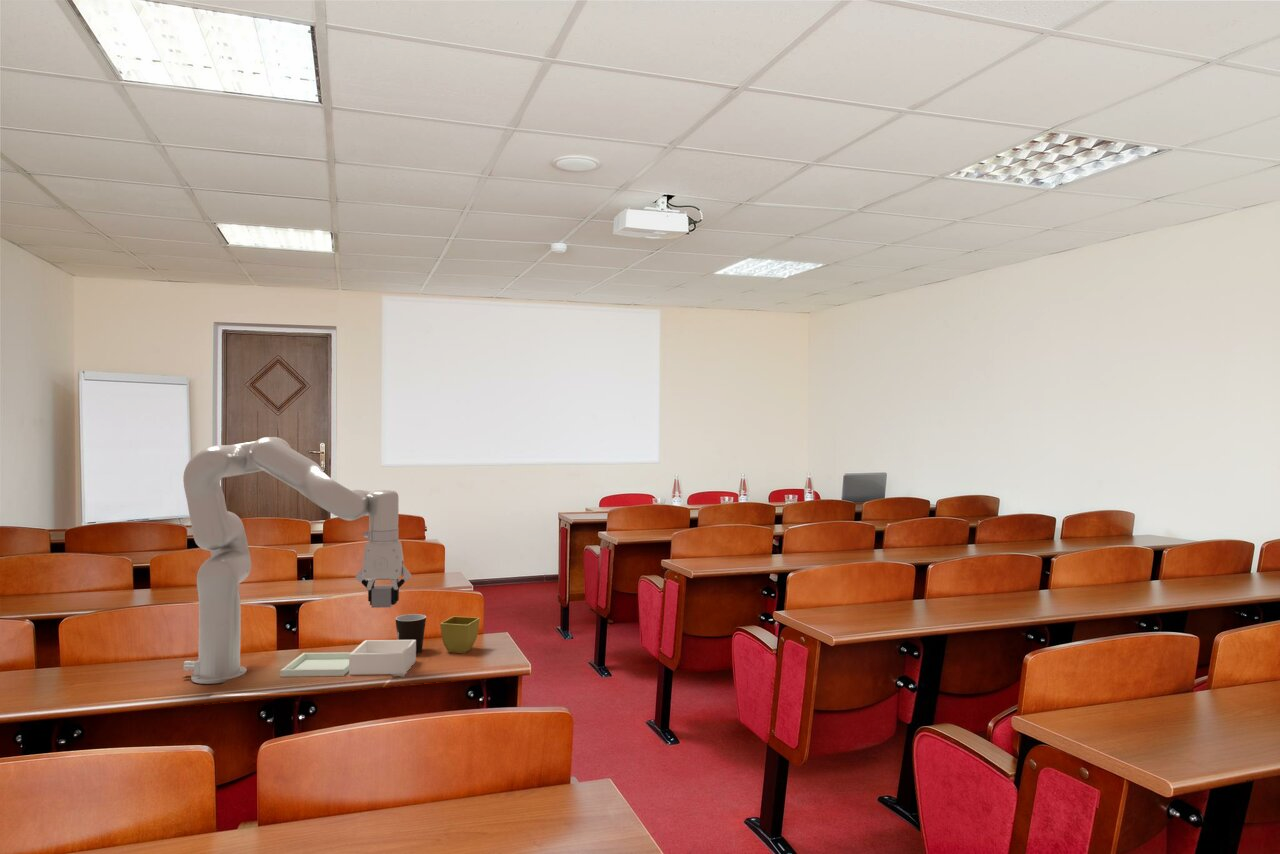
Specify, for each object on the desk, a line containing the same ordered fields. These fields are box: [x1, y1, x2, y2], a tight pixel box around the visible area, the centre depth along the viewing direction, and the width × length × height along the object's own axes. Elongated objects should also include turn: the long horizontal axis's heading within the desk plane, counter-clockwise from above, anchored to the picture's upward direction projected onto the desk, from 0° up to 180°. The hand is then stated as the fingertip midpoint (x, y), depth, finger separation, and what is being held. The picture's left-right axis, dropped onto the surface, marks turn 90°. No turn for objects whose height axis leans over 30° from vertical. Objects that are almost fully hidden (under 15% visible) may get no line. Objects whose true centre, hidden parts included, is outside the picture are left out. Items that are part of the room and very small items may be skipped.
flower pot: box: [440, 615, 480, 654], centre depth 226 cm, size 9×9×9 cm
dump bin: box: [348, 639, 417, 677], centre depth 207 cm, size 14×14×6 cm
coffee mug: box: [395, 613, 427, 655], centre depth 226 cm, size 12×9×10 cm
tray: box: [279, 651, 352, 678], centre depth 206 cm, size 16×16×2 cm
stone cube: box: [371, 584, 394, 609], centre depth 208 cm, size 5×5×5 cm
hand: (383, 603), depth 208 cm, fingers closed on stone cube, 5 cm apart
